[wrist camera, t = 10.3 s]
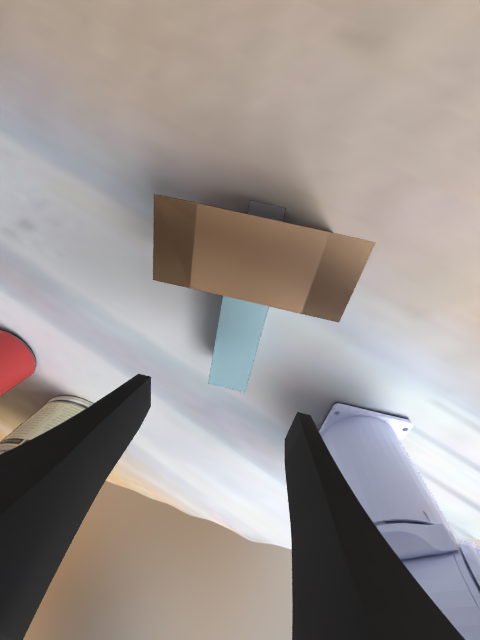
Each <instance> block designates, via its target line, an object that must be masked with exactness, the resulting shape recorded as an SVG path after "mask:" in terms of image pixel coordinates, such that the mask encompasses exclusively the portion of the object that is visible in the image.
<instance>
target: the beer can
mask: <svg viewBox="0 0 480 640" xmlns="http://www.w3.org/2000/svg"><path fill="white" fill-rule="evenodd" d="M35 367H36V361H35V356H34V354H33V353H32V351H31V349H30V348H29V347H28V346H27V345H26V343H24V342H23V341H22V340H21V339H19V338H18V337H16V336H15V335H13V334H11V333H9V332H6V331H3V330H0V395H2V394H4V393H5V392H7V391H8V390H10V389H11V388H13V387H14V386H16V385H17V384H19V383H20V382H22V381H23V380H25V379H26V378H28V377H29V376H30V375H31V374H32V373H33V372H34V371H35Z"/></svg>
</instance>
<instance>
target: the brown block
mask: <svg viewBox="0 0 480 640" xmlns="http://www.w3.org/2000/svg"><path fill="white" fill-rule="evenodd" d="M375 243H376V242H372V241H367V240H363V239H358V238H354V237H350V236H345V235H341V234H336V233H332V232H327V231H323V230H318V229H314V228H309V227H303V226H299V225H294V224H290V223H285V222H281V221H276V220H272V219H267V218H262V217H258V216H253V215H249V214H244V213H240V212H235V211H230V210H226V209H222V208H218V207H213V206H209V205H204V204H200V203H195V202H190V201H185V200H181V199H176V198H171V197H166V196H162V195H157V194H154V248H153V280H156V281H160V282H165V283H169V284H174V285H178V286H182V287H187V288H191V289H195V290H200V291H204V292H209V293H213V294H217V295H222V296H226V297H230V298H235V299H239V300H243V301H248V302H252V303H257V304H261V305H265V306H270V307H274V308H278V309H283V310H287V311H292V312H296V313H300V314H305V315H309V316H313V317H318V318H322V319H327V320H331V321H335V322H339V321H340V319H341V317H342V315H343V312H344V310H345V308H346V306H347V304H348V302H349V299H350V297H351V295H352V293H353V291H354V288H355V286H356V284H357V282H358V280H359V278H360V275H361V273H362V271H363V269H364V267H365V265H366V262H367V260H368V258H369V256H370V254H371V252H372V249H373V247H374V245H375Z"/></svg>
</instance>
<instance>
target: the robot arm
mask: <svg viewBox="0 0 480 640" xmlns="http://www.w3.org/2000/svg"><path fill="white" fill-rule="evenodd" d="M150 407H151V377H149V376H145V375H141V374H138V375H136V376H134V377H133V378H131V379H130V380H129V381H127V382H126V383H124V384H123V385H121V386H120V387H118V388H117V389H115V390H114V391H112V392H111V393H109V394H108V395H106V396H105V397H103V398H102V399H100V400H99V401H97V402H96V403H94V404H93V405H91V406H89V407H88V408H86V409H84V410H83V411H81V412H79V413H78V414H76V415H74V416H73V417H71V418H69V419H68V420H66V421H64V422H63V423H61V424H59V425H57V426H56V427H54V428H52V429H50V430H48V431H46V432H45V433H43V434H41V435H39V436H37V437H35V438H33V439H31V440H29V441H27V442H25V443H23V444H21V445H19V446H17V447H15V448H13V449H11V450H9V451H7V452H5V453H2V454H0V640H23V638H24V636H25V634H26V632H27V630H28V628H29V625H30V624H31V622H32V619H33V618H34V615H35V613H36V611H37V609H38V607H39V605H40V603H41V601H42V599H43V597H44V595H45V593H46V591H47V589H48V587H49V585H50V583H51V581H52V579H53V577H54V575H55V573H56V571H57V569H58V567H59V565H60V563H61V561H62V559H63V557H64V555H65V553H66V552H67V550H68V548H69V546H70V544H71V542H72V540H73V538H74V536H75V534H76V532H77V531H78V529H79V527H80V525H81V523H82V521H83V519H84V517H85V516H86V514H87V512H88V510H89V508H90V506H91V505H92V503H93V501H94V499H95V497H96V496H97V494H98V492H99V490H100V489H101V487H102V485H103V484H104V482H105V480H106V479H107V477H108V475H109V474H110V472H111V471H112V469H113V468H114V466H115V465H116V463H117V462H118V460H119V459H120V457H121V456H122V454H123V453H124V451H125V450H126V448H127V447H128V445H129V444H130V442H131V440H132V439H133V437H134V436H135V434H136V433H137V431H138V430H139V428H140V426H141V424H142V422H143V421H144V419H145V417H146V415H147V413H148V411H149V409H150ZM336 411H337V412H336ZM412 427H413V423H412V422H411V421H410V420H407V419H403V418H399V417H394V416H390V415H386V414H382V413H378V412H373V411H369V410H365V409H361V408H357V407H352V406H348V405H344V404H339V403H337V404H335V405H334V406H333V407H332V409H331V411H330V413H329V414H328V416H327V418H326V420H325V422H324V423H323V425H322V427H321V429H320V430H319V431H318V429H317V427H316V425H315V423H314V421H313V419H312V418H311V416H310V415H307V414H303V413H299V412H297V414H296V416H295V419H294V421H293V423H292V425H291V427H290V429H289V432H288V434H287V436H286V438H285V471H286V482H287V492H288V502H289V512H290V522H291V537H292V587H293V588H292V590H293V591H292V593H293V626H292V628H293V629H292V630H293V632H292V636H293V637H292V640H480V547H478V546H477V545H476V544H475V543H473V542H472V541H464V542H461V541H460V540H459V539H458V538H457V537H456V535H455V533H454V531H453V530H452V528H451V526H450V525H449V523H448V521H447V520H446V518H445V516H444V515H443V513H442V511H441V509H440V508H439V506H438V504H437V503H436V501H435V499H434V498H433V496H432V494H431V493H430V491H429V489H428V487H427V486H426V484H425V482H424V481H423V479H422V477H421V476H420V474H419V472H418V470H417V469H416V467H415V465H414V464H413V462H412V460H411V459H410V457H409V455H408V454H407V452H406V450H405V448H404V447H403V445H402V443H401V442H400V441H401V440H402V439H403V438H404V437H405V435H406V434H407V433H408V432H409V431H410V430H411V428H412Z"/></svg>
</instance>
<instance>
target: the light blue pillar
mask: <svg viewBox="0 0 480 640" xmlns="http://www.w3.org/2000/svg"><path fill="white" fill-rule="evenodd" d="M285 210H286V208H283V207H279V206H274V205H270V204H265V203H260V202H256V201H251V200H250V202H249V207H248V212H247V214H249V215H253V216H258V217H262V218H267V219H272V220H276V221H281V222H282V221H283V217H284V213H285ZM268 308H269V306H265V305H261V304H257V303H252V302H248V301H243V300H239V299H235V298H230V297H226V296H223V299H222V305H221V311H220V317H219V323H218V328H217V334H216V340H215V346H214V352H213V358H212V364H211V370H210V376H209V382H208V384H212V385H216V386H221V387H225V388H229V389H233V390H237V391H242V392H245V390H246V387H247V383H248V380H249V376H250V372H251V369H252V365H253V362H254V358H255V355H256V351H257V347H258V344H259V340H260V337H261V333H262V329H263V326H264V322H265V319H266V315H267V312H268Z"/></svg>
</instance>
